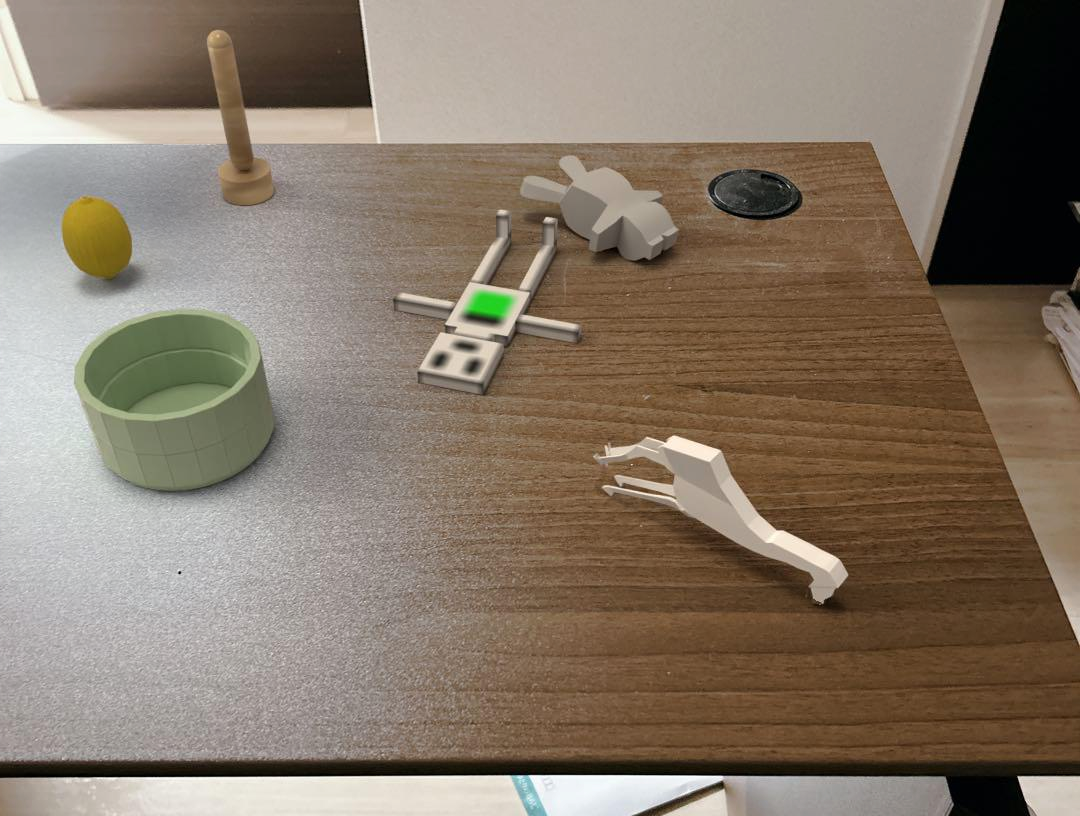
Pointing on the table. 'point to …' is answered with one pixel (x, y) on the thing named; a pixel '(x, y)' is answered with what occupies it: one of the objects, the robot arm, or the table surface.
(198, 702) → the table surface
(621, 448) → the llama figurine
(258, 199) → the wooden tamper
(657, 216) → the bunny figurine
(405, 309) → the robot figure
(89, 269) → the lemon
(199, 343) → the bowl
